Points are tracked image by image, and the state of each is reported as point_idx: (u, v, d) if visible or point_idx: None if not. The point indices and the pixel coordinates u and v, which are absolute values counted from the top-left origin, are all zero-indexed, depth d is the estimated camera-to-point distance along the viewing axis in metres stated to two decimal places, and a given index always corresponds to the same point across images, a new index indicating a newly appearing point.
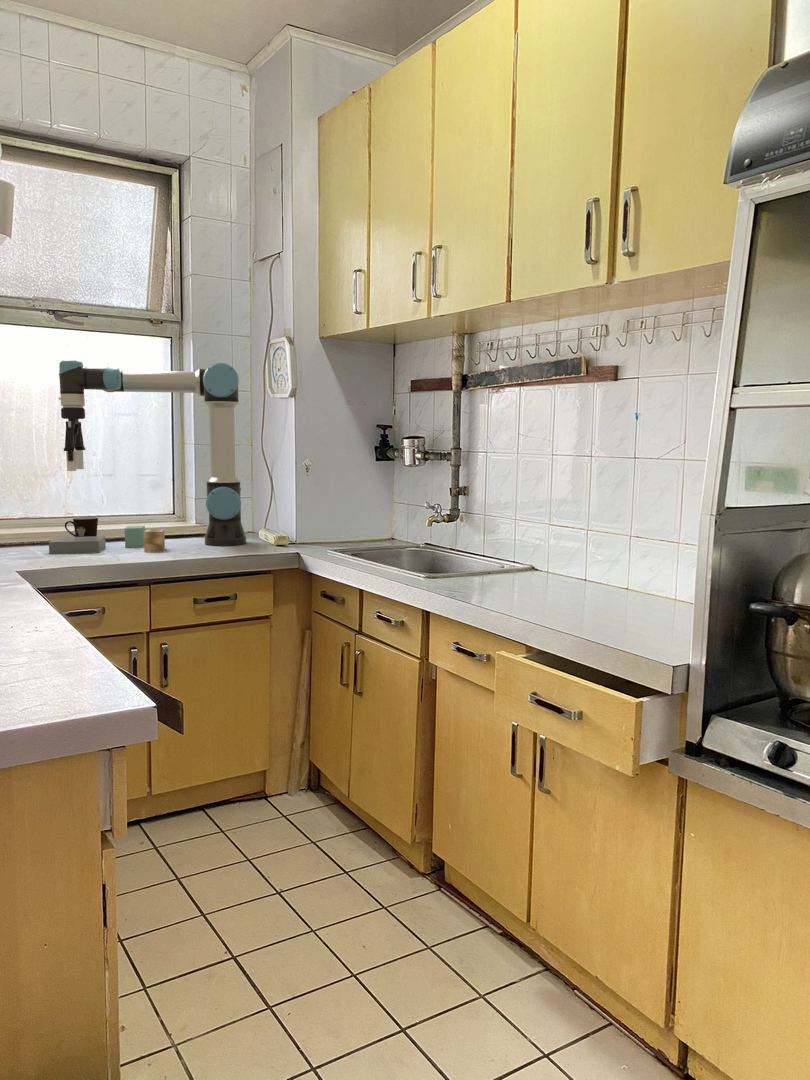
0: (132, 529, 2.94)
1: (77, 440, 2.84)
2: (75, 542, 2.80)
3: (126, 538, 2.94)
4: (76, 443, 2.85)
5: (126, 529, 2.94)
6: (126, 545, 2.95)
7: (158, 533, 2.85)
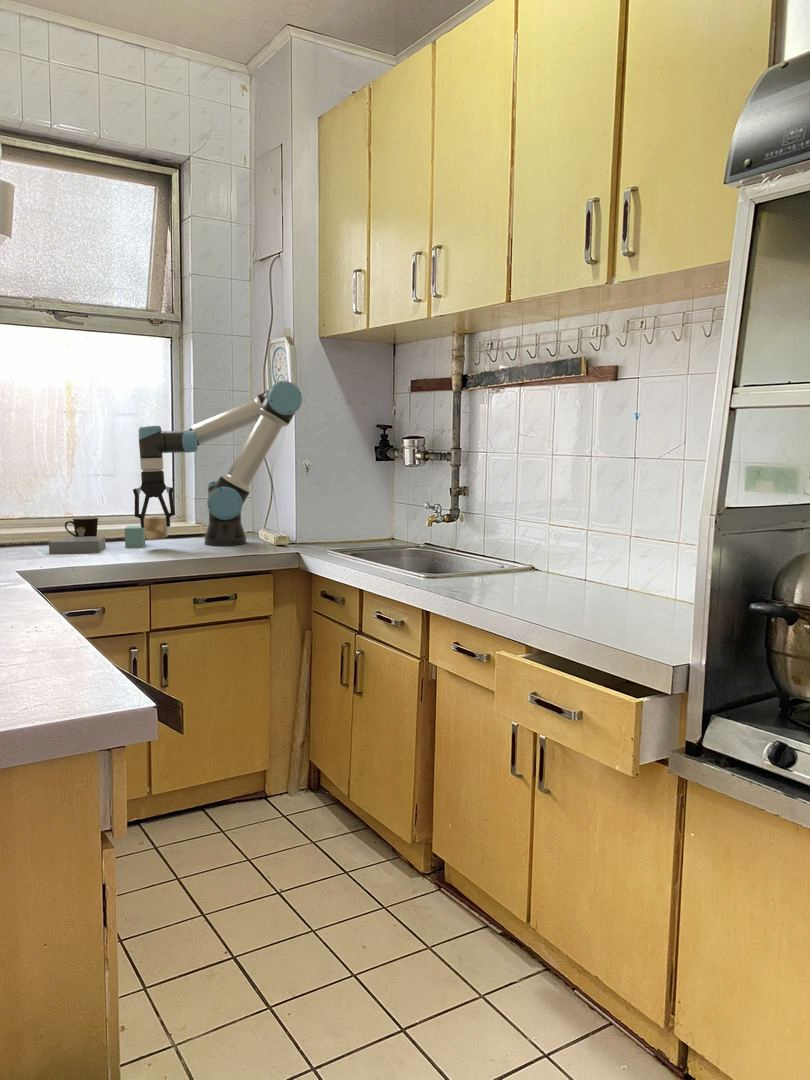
0: (132, 529, 2.94)
1: None
2: (75, 542, 2.80)
3: (126, 538, 2.94)
4: None
5: (126, 529, 2.94)
6: (126, 545, 2.95)
7: (159, 520, 2.84)
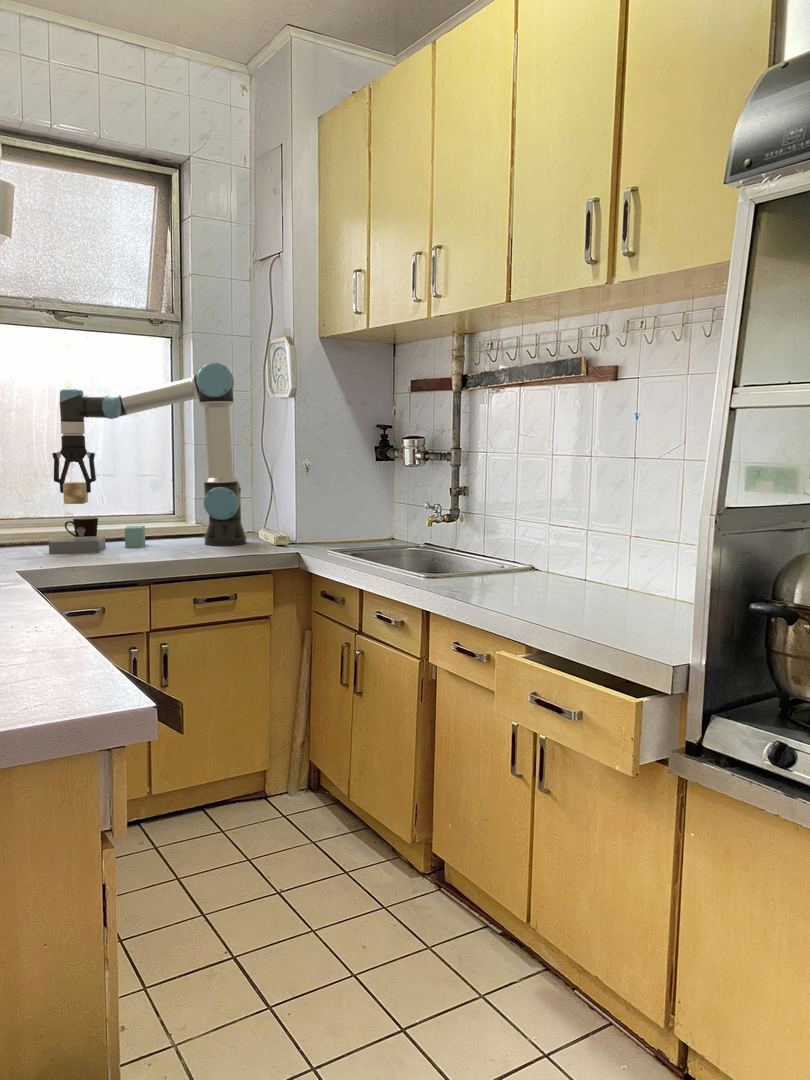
0: (132, 529, 2.94)
1: None
2: (75, 542, 2.80)
3: (126, 538, 2.94)
4: None
5: (126, 529, 2.94)
6: (126, 545, 2.95)
7: (78, 485, 2.80)
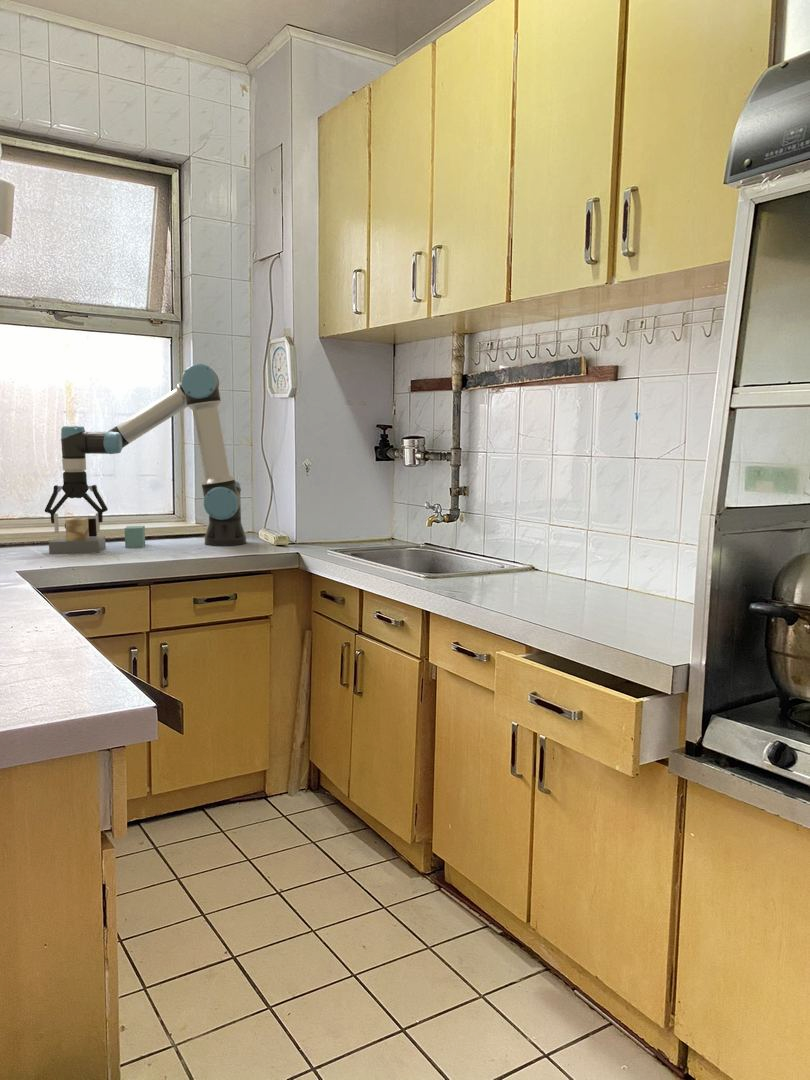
0: (132, 529, 2.94)
1: None
2: (75, 542, 2.80)
3: (126, 538, 2.94)
4: None
5: (126, 529, 2.94)
6: (126, 545, 2.95)
7: (80, 521, 2.82)
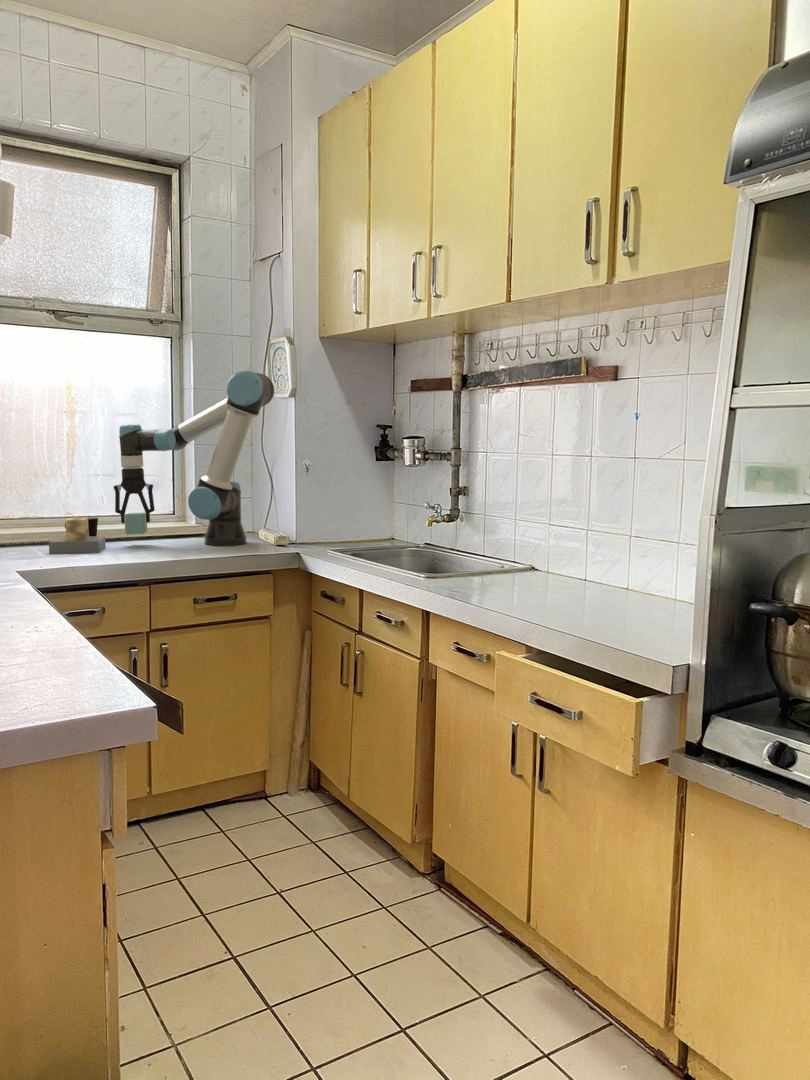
0: (133, 515, 2.94)
1: (141, 501, 2.97)
2: (75, 542, 2.80)
3: (127, 525, 2.94)
4: None
5: (127, 515, 2.93)
6: (127, 532, 2.94)
7: (80, 521, 2.82)
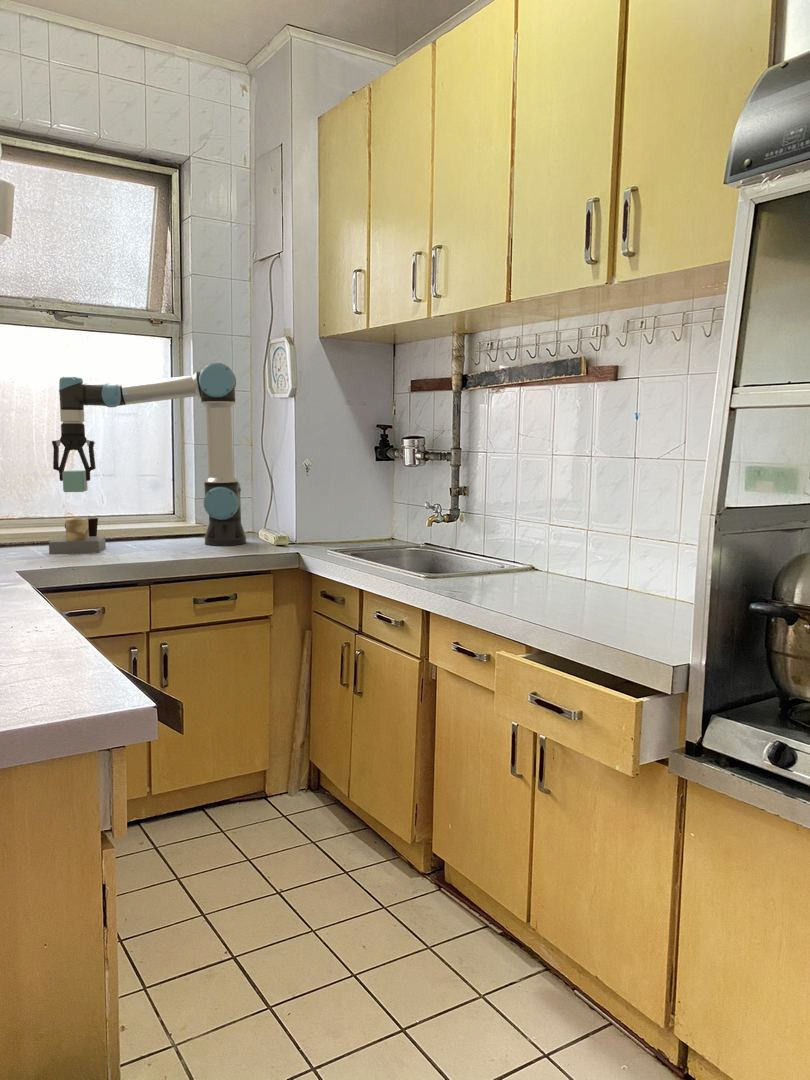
0: (71, 472, 2.80)
1: None
2: (75, 542, 2.80)
3: (65, 482, 2.80)
4: None
5: (65, 472, 2.79)
6: (65, 489, 2.80)
7: (80, 521, 2.82)
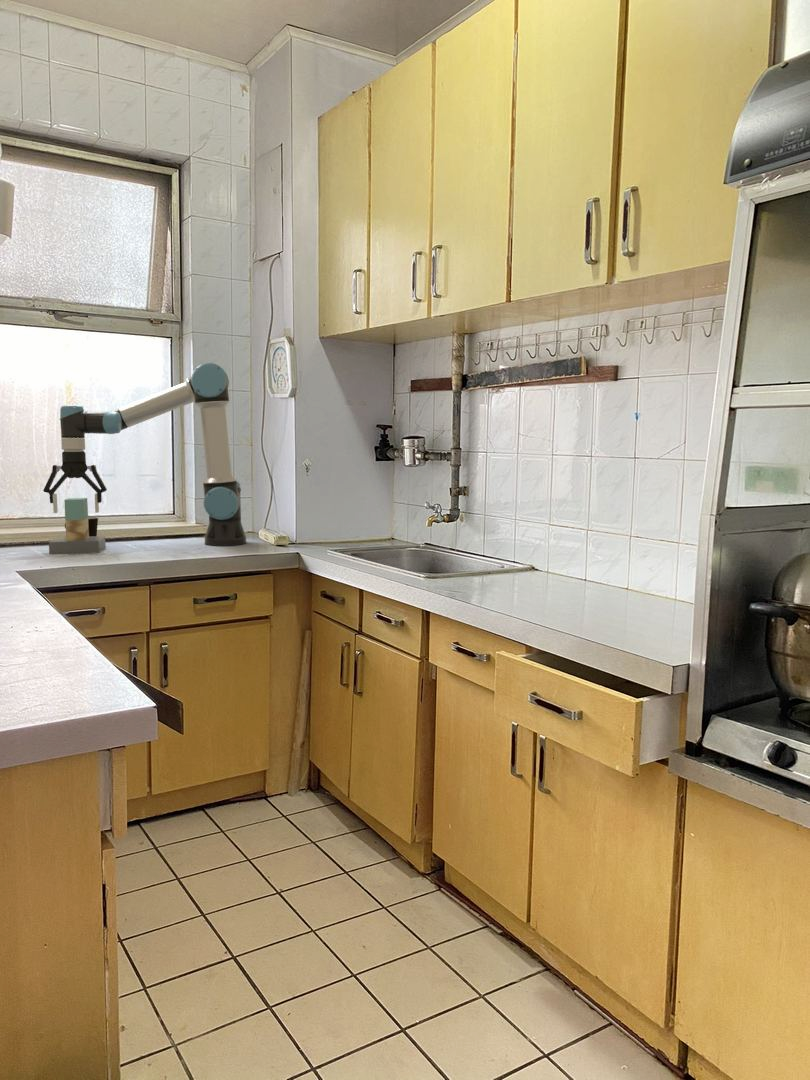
0: (72, 500, 2.81)
1: None
2: (75, 542, 2.80)
3: (66, 510, 2.81)
4: None
5: (66, 500, 2.80)
6: (66, 517, 2.81)
7: (80, 521, 2.82)
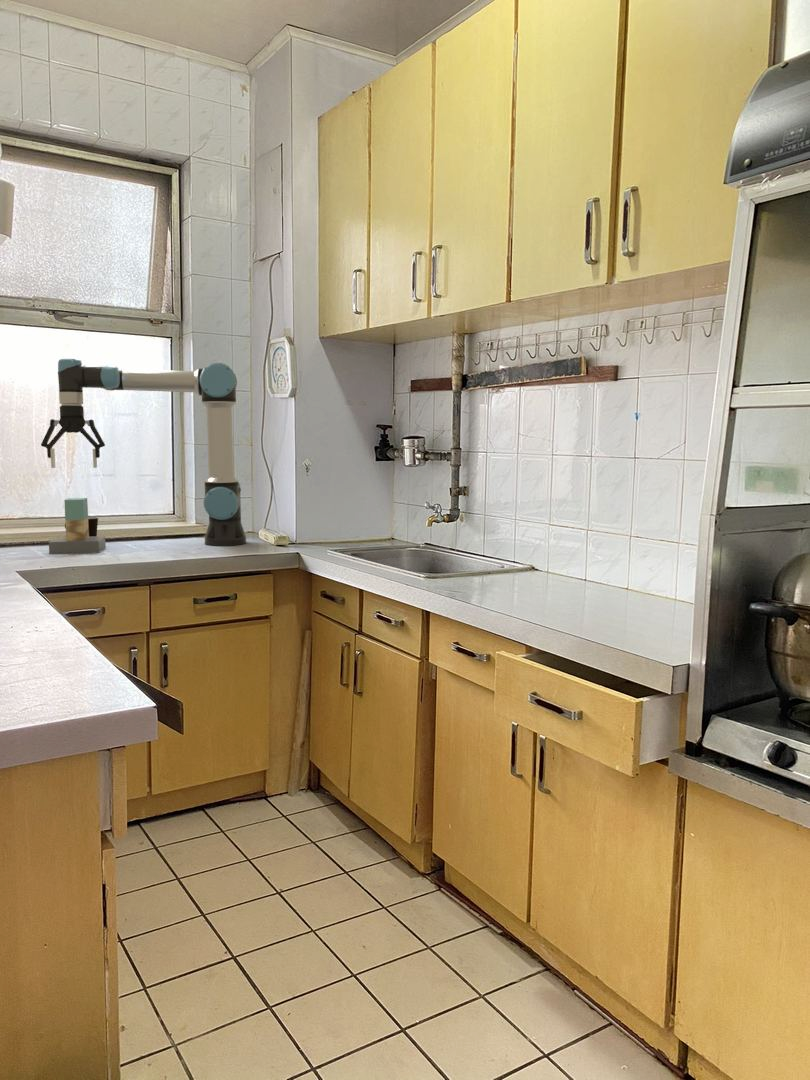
0: (72, 500, 2.81)
1: (87, 438, 2.83)
2: (75, 542, 2.80)
3: (66, 510, 2.81)
4: None
5: (66, 500, 2.80)
6: (66, 517, 2.81)
7: (80, 521, 2.82)
